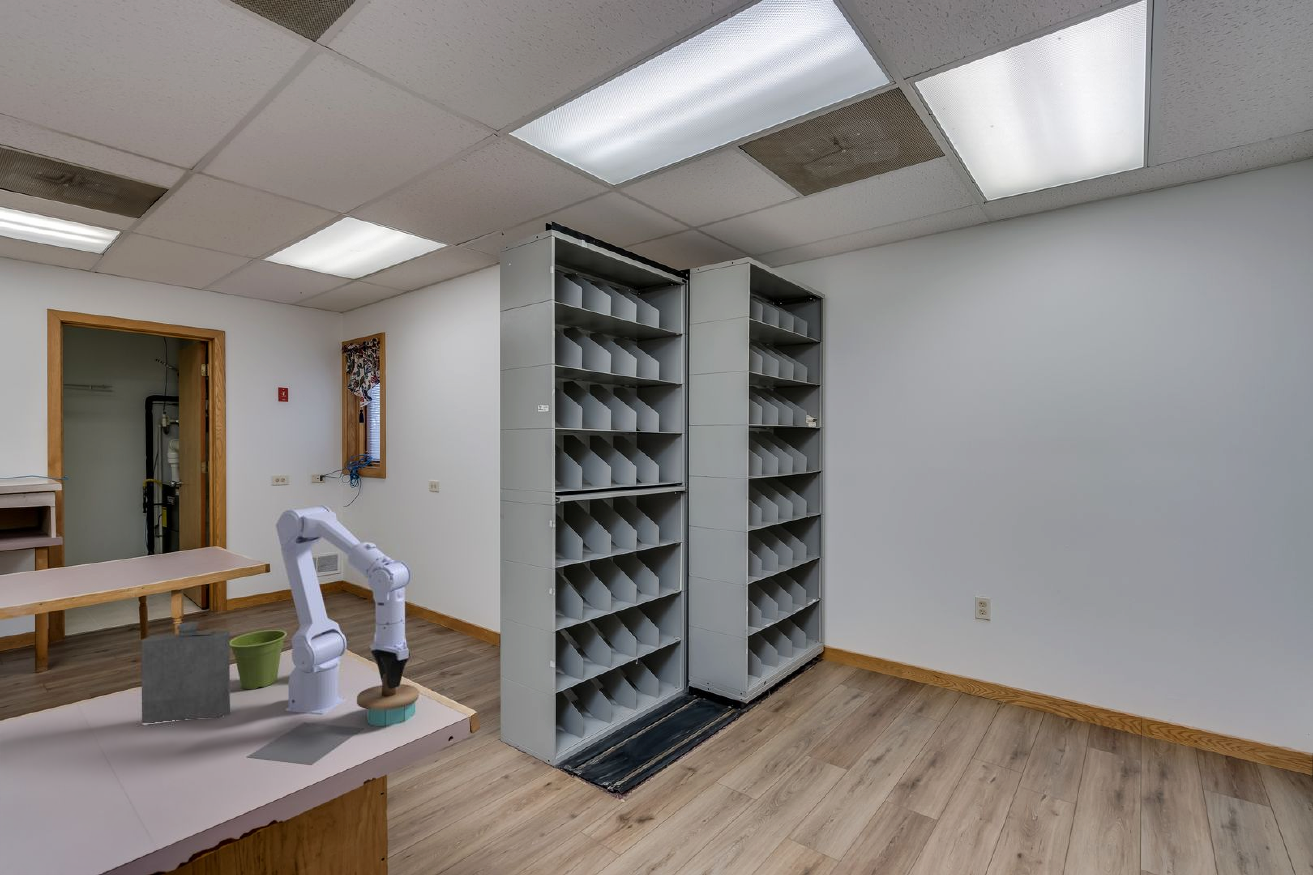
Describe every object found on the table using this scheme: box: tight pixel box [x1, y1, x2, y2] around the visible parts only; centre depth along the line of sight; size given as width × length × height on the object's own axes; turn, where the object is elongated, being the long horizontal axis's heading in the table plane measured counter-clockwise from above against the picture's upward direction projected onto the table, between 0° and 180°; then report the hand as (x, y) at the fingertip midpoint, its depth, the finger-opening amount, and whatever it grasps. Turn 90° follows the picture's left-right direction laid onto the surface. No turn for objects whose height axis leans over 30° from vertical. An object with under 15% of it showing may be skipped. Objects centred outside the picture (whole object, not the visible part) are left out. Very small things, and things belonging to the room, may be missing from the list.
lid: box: [356, 673, 420, 710], centre depth 129 cm, size 12×12×5 cm
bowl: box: [365, 701, 416, 727], centre depth 129 cm, size 9×9×4 cm
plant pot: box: [229, 629, 288, 690], centre depth 148 cm, size 12×12×11 cm
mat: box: [246, 722, 364, 766], centre depth 118 cm, size 14×14×1 cm
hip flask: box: [140, 621, 231, 724], centre depth 130 cm, size 16×4×20 cm, turn 104°
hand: (390, 684), depth 129 cm, fingers open, 3 cm apart
